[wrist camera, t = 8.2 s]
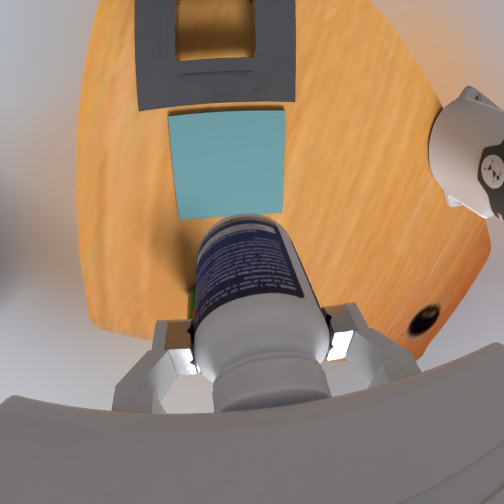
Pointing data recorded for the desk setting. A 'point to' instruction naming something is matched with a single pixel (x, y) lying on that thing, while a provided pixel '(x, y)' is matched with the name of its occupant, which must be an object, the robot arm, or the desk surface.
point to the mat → (228, 162)
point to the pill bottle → (257, 318)
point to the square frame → (214, 60)
